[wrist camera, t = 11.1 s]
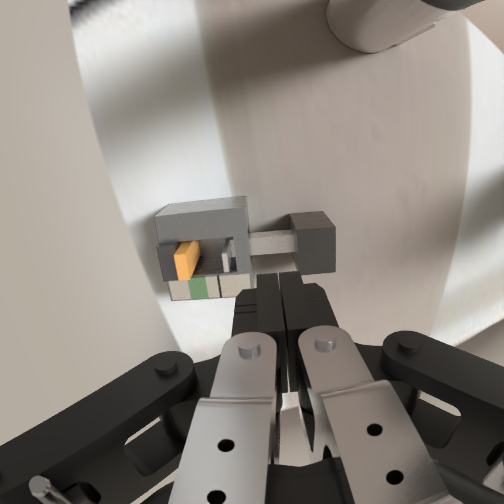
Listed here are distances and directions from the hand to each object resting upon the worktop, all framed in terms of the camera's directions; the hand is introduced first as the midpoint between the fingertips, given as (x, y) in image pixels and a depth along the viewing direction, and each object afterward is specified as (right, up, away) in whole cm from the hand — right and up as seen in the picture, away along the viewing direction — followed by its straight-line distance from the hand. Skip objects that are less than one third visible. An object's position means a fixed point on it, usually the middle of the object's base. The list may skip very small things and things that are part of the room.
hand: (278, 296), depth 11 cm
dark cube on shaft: (+2, +4, +27) cm, 27 cm away
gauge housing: (-6, +3, +28) cm, 29 cm away
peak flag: (-8, +3, +27) cm, 28 cm away
